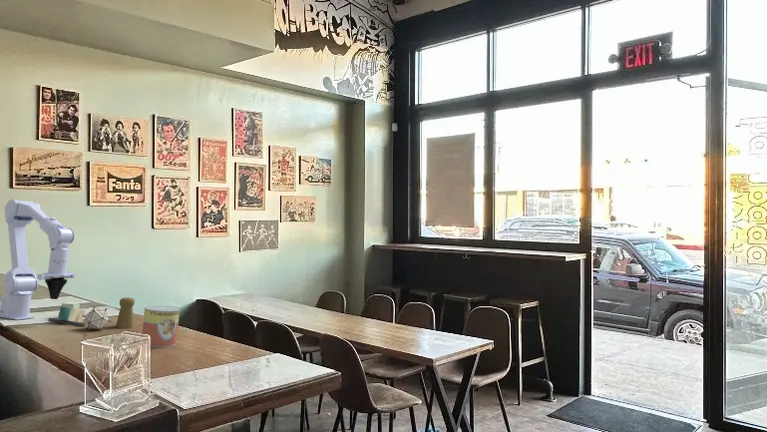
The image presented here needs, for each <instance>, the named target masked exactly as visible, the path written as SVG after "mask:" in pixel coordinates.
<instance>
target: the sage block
mask: <svg viewBox="0 0 767 432" xmlns="http://www.w3.org/2000/svg"><path fill="white" fill-rule="evenodd" d="M61 307H66V308H73V309H79V310H80V307H81V303H80V302H75V301H74V302H73V301H65V302H61Z"/></svg>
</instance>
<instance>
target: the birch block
mask: <svg viewBox="0 0 767 432" xmlns="http://www.w3.org/2000/svg"><path fill="white" fill-rule="evenodd" d="M82 315H84V316H85V315H86V310H84V309H80V308H79V309H73V308H66V307H62V306H60V309H59V312H58V316H57V317H56V318H57V319H61V320H67V321H74V322H80V323H84V322H83V321H84V320H85V317H83V316H82Z"/></svg>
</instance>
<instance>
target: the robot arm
mask: <svg viewBox="0 0 767 432" xmlns="http://www.w3.org/2000/svg"><path fill="white" fill-rule="evenodd" d="M4 217H5V222H6V223H7V231H8V239H9V251H10V261H11V269H10V270H8V271H7V272H6V273H5V274H4V282H3V288H4V291H5V292H6V293H5V294H3V296H2V297H1V300H0V318H3V319H10V320H13V321H14V320H16V321H17V320H18V321H19V320H24V319H26V320H27V319H33V318H35V317H36V316H35V315H30V310H31V302H32V301H31V300H32V295H34V293H35V292H36V291H37V289H38V288H39V280H40V281H44V282H45V283H46V286H47V288H48V292H49V298H50V300H58V299H59V297H60V294H61V291H62V290H63V288H64V286H65V285H66V284H67V283H68V279H75V278H76V277H75V276H76V273H75V272H71V271H70V272H67V270H68V260H69V252H70V245H71V244H72V243H73V242H74V239H75V232H74V230H73V229H72V228H70V227H64V225H63V224H61V223H60V222H59V221H58V220H57V218H56V217H54V216H48V215H47V214H46V213H45V212H44V211H43V210H42V209H41V204H40V203H38V202H37V201H29V200H28V201H27V200H17V199H9V200H8V201H7V202H6V204H5V206H4ZM33 221H36V222H37V223H38V224H39V228H40V230H41V232H43V233H45V234H46V235H47V236H48V237H47V238H48V242H49V245H48V246H49V248H50V252H49V253H50V254H49V261H48V271H47V272H44V273H43V272H42V273H37V274H36V271H35V270H34V269H32V268H31V267H30V266H29V259H28V258H29V257H28V249H27V239H26V237H27V236H26V230H25V227H26V226H28V225H30V224H31V223H32V222H33Z"/></svg>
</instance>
